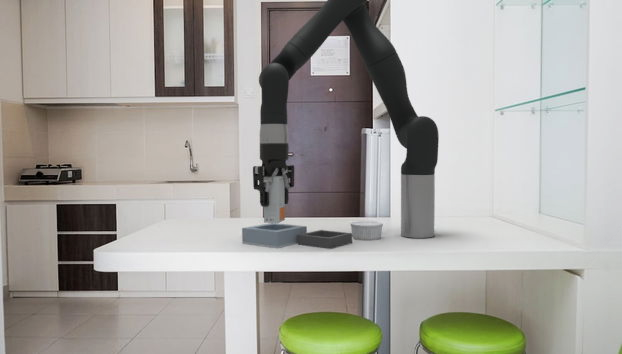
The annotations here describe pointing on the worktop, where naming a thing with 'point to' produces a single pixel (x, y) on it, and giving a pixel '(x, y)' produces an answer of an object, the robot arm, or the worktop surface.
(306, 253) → the worktop surface
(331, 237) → the dark grey square tray
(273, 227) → the blue-grey square tray
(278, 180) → the skincare box
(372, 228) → the ramekin
